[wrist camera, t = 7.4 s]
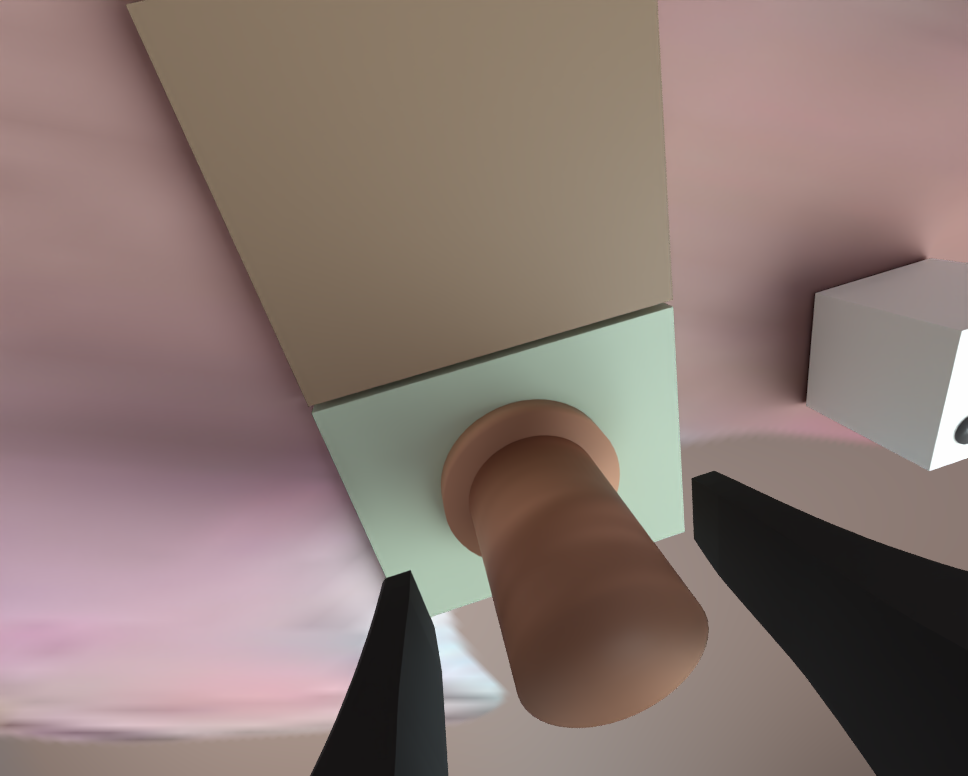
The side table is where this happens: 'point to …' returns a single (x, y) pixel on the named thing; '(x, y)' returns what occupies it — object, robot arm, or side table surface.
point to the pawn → (569, 566)
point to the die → (896, 360)
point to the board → (443, 231)
